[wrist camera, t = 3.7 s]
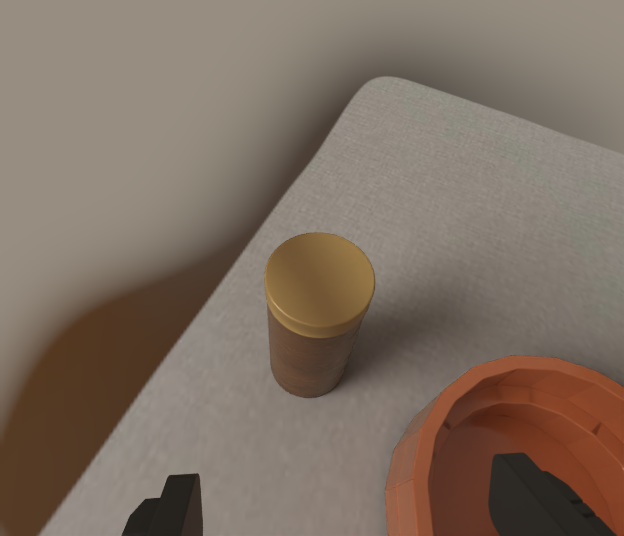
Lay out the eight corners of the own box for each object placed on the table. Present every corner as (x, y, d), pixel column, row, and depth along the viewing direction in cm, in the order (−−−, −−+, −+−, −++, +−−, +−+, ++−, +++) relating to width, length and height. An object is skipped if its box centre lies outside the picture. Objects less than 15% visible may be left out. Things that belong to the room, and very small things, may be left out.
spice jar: (316, 313, 28) (332, 216, 19) (360, 371, 26) (398, 290, 18) (255, 350, 26) (243, 261, 18) (297, 414, 24) (305, 348, 16)
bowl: (498, 351, 27) (547, 309, 22) (695, 558, 22) (821, 563, 16) (332, 481, 22) (347, 464, 17) (528, 790, 17) (634, 896, 12)
